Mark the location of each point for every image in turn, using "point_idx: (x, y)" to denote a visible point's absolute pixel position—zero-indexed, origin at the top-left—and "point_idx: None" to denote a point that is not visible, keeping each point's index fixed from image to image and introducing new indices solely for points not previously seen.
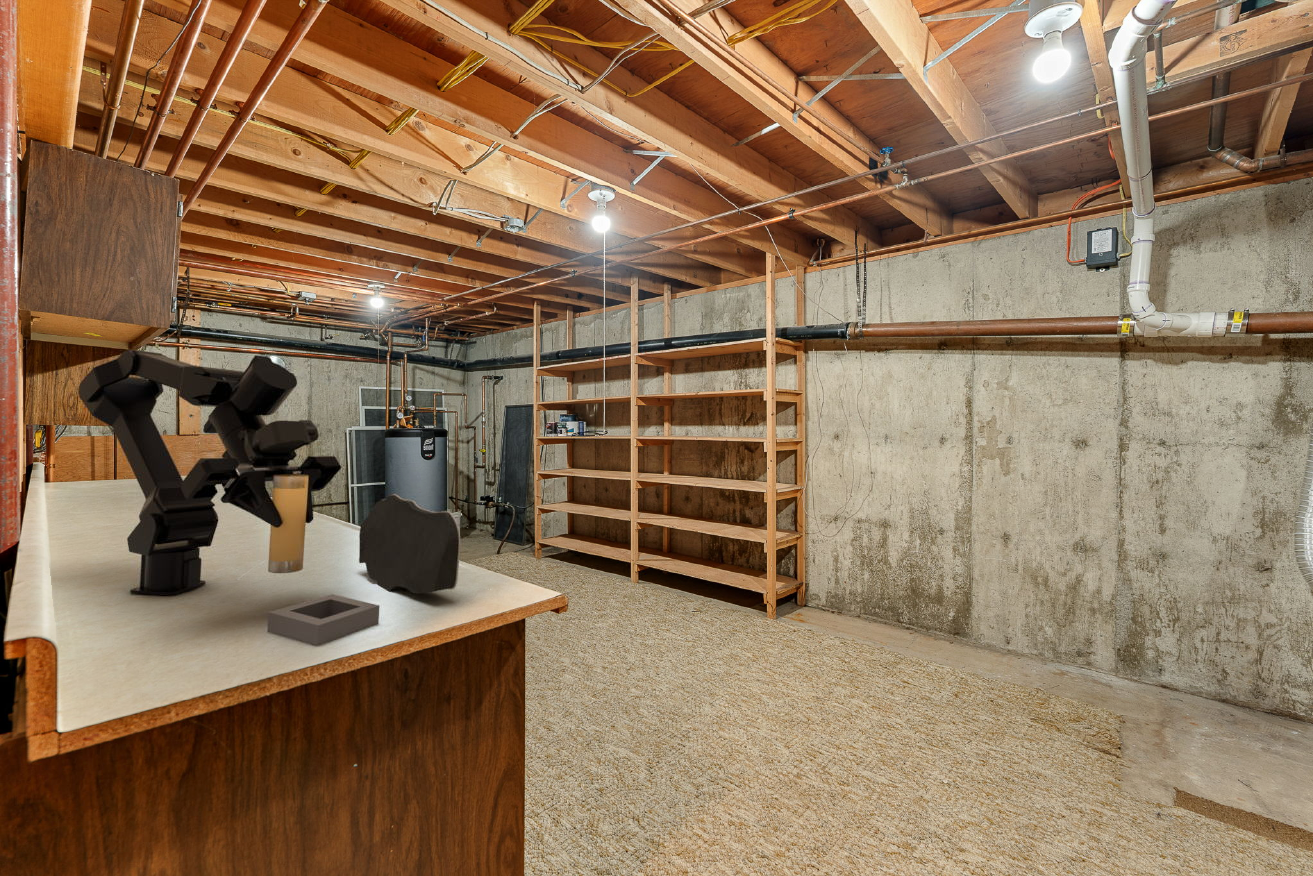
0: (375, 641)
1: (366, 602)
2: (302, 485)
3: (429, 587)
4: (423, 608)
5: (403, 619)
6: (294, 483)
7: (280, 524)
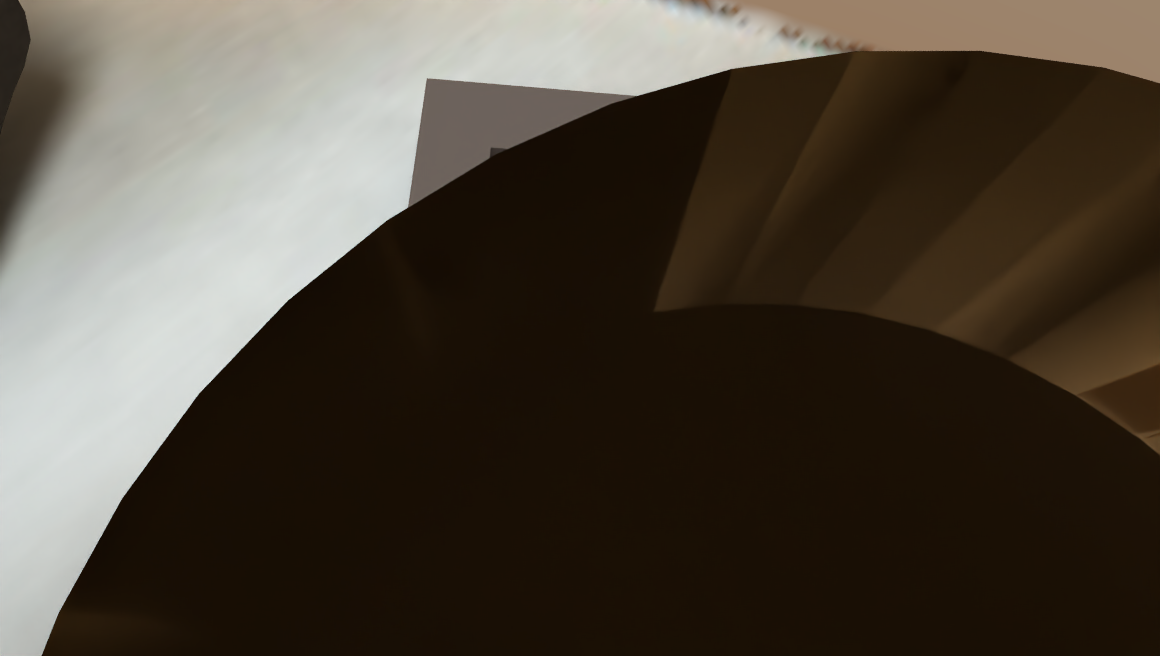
0: (590, 40)
1: (414, 173)
2: (754, 270)
3: (2, 44)
4: (78, 144)
5: (285, 120)
6: (1134, 309)
7: None
